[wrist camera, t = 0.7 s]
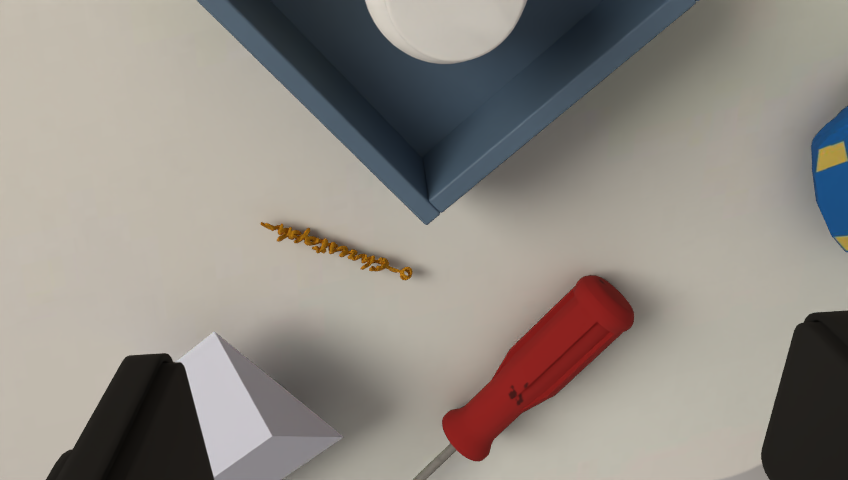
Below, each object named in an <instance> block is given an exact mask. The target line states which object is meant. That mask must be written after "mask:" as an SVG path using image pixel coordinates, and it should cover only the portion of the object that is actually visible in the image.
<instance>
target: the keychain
mask: <svg viewBox="0 0 848 480" xmlns="http://www.w3.org/2000/svg"><path fill="white" fill-rule="evenodd" d="M261 225H262V226H264V227H266V228H268V229H270V230H272V231H274V230H276V229H278V234H279V235H281V236H279V237H278V239H277V241H278V242H279V241H282V240H283V239H285V238H287V237H288V238H289V239H291V240H293V239H294V238H295V239H296V240H295V241H294V243H299V242H301V241H302V240H305V241H304V243H305V244H306V245H309V246H310V245H316V244H319V243H322V246H321V247H318V246H315V247H312V249H313V250H317V251H316V252H317V253H320V252H322V253H325V252H326V249H325V248H327V246H329V254H333V253H334V252H337V251H342V252H341V253H340V255H339V256H340V257H344V256H345V255H348V254H350V255H349V256H348V259H352V260H353V261H355V260H358V259H359V258H362V259H361V261H362V263H366V262H367V263H366V264H365V265H363V266H362V267H361V269H362V270H363V269H365V268H367V267H369V266H370V265H371V264H372V263H379V264H381V266H377V267H376V268H375V267H374V266H372V267H370V268H369V271H381V270H383V269H385V268H387V269H389V270H390V271H392V272H399V273H400V277H401V279H402V280H408V279H409V278H411V276H412V269H411V268H410V267H405V268H403V269H402V270H398V269H396V268H393V267H390V266H389V262H388V260H387V259H386V258H379V260H375V256H370V257H367V255H366V254H359V255H357V253H358V252H357V251H356V250H355V249H352V250H350V251H348V248H347V247H346V246H340V247H338V245H337V244H336V243H335V242H331V243H328V240H327V239H325V238H324V240H323V239H319V238H317V237H314V236H308V234H309V233H310V228H307V229H306V230H305V232H304V233H303V234H302V233H301V232H300V231H299V230H293V231H292V228H291V227H289V228H283V224H281V225H276V226H273V225H270V224H268V223H265V224H264V223H263V222H261ZM282 234H283V235H282ZM301 234H302V235H301ZM297 235H300V236H297ZM310 241H312V242H310ZM336 248H337V249H336ZM356 255H357V256H356ZM409 270H410V271H409ZM404 271H406V272H407V273H408V276H407V275H405V274H404ZM404 277H405V278H404Z"/></svg>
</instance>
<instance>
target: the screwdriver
mask: <svg viewBox="0 0 848 480" xmlns="http://www.w3.org/2000/svg"><path fill="white" fill-rule="evenodd" d="M633 322H634V312H633V309H632V307H631V305H630V304H629V302H628V301H627V300H626V299H625V298H624V296H623V295H622V294H621V293H620V292H619V291H618V290H617V289H616V288H615V287H613V286H612V285H611V284H610V283H609V282H607V281H606V280H604V279H603V278H601V277H598V276H593V275H589V276H585V277H583V278H581V279H580V280H579V281H578V282H577V284H576V286H575V287H574V288H573V289H572V290H571V291H570V292H569V293H567V294H566V295H565V296H564V297H563V298H562V299H561V300H560V301H559V302H558V303H557V304H556V305H555V306H554V307H553V308H552V309H551V310H550V311H549V312H548V313H547V314H546V315H545V316H544V317H543V318H542V319H541V320H540V321H539V322H538V323H537V324H536V325H534V326H533V327H532V328H531V329H530V330H529V331H528V332H527V333H526V334H525V335H524V336H523V337H522V338H521V339H520V340H519V341H518V342H517V343H516V344H515V345H514V346H513V347H512V348H511V349H510V350H509V352H508V353H507V355H506V357H505V358H504V360H503V362H502V363H501V365H500V367H499V368H498V370H497V372H496V373H495V375H494V377H493V379H492V380H491V381H490V382H489V383H488V384H487V385H486V386H485V387H484V388H483V389H482V390H481V391H480V392H479V393H478V394H477V395H476V396H475V397H474V398H473V399H472V400H471V401H470V402H469V403H467V404H466V405H465V406H464V407H462V408H460V409H454V410H450V411H449V412H448V413H447V414H446V415H445V416H444V417H443V420H442V425H443V430H444V432H445V435H446V436H447V438H448V440H449V441H450V444H449V445H448V446H447V447H446V448H445V449H444V450H443V451H442V452H441V453H440V454H439V455H438V456H437V457H436V458H435V459H434V460H433V461H432V462H431V463H430V464H428V465H427V466H426V467H425V468H424V469H423V470H422V471H421V472H420V473H419V474H418V475H417V476H416V477H415V478H414V479H413V480H426V479H427V478H428V477H429V476H430V475H431V474H432V473H433V472H434V471H435V470H436V469H437V468H438V467H440V466H441V465H442V464H443V463H444V462H445V461H446V460H447V459H448V458H449V457H450V456H451V455H452V454H453V453H454V452H455V451H456V450H457V451H458V452H459V453H461V454H462V455H463V456H465V457H466V458H468V459H470V460H473V461H482V460H483V459H484V458H485V457H487V456H488V455H489V452H490V448H491V444H492V442H493V440H494V439H495V438H496V437H497V436H498V435H499V434H500V433H501V432H502V431H503V430H504V429H505V428H507V427H508V426H509V425H510V424H511V423H512V422H513V421H514V420H515V419H516V418H517V417H518V416H519V415H520V414H522V413H523V412H525V411H527V410H528V409H530V408H532V407H534V406H536V405H538V404H540V403H542V402H543V401H545V400H547V399H549V398H551V397H553V396H555V395H556V394H557V393H558V392H559V391H560V390H561V389H562V388H564V387H565V386H566V385H567V384H568V383H569V382H570V381H571V380H572V379H573V378H574V377H575V376H577V375H578V374H579V373H580V372H581V371H582V370H583V369H584V368H585V367H586V366H587V365H588V364H589V363H591V362H592V361H593V360H594V359H595V358H596V357H597V356H598V355H599V354H600V353H601V352H602V351H604V350H605V349H606V348H607V347H608V346H609V345H610V344H611V343H612V342H613V341H614V340H615V339H616V338H618V337H619V336H620V335H621V334H622V333H623V332H625V331H627V330H628V329H630V328H631V326H632V325H633Z"/></svg>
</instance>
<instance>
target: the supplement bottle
mask: <svg viewBox="0 0 848 480" xmlns="http://www.w3.org/2000/svg"><path fill="white" fill-rule="evenodd" d="M365 2H366V5H367V8H368V11H369V13H370V15H371V17H372V19H373V21H374V23H375V24H376V26H377V27H378V29H379V30H380V31H381V33H382V34H383V35H384V36H385V37H386V38H387V39H388V40H389V41H390V42H391V43H392V44H393V45H394V46H396V47H397V48H398V49H400V50H401V51H403V52H404V53H406V54H408V55H410V56H412V57H414V58H416V59H419V60H422V61H426V62H430V63H437V64H454V63H460V62H465V61H468V60H472V59H475V58H478V57H480V56H482V55H484V54H486V53H488V52H490V51H491V50H493V49H494V48H496V47H497V46H498V45H500V44H501V43H502V42H503V41H504V40H505V39H506V38H507V37H508V35H509V34H510V33H511V32H512V30H513V29H514V27H515V25H516V24H517V22H518V20H519V18H520V16H521V14H522V12H523V10H524V8H525V5H526V2H527V0H365Z"/></svg>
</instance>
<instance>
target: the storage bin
mask: <svg viewBox="0 0 848 480" xmlns="http://www.w3.org/2000/svg"><path fill="white" fill-rule="evenodd" d="M197 1H198V2H199V3H200V4H201V5H202V6H203V7H204V8H205V9H206V10H207V11H208V12H209V13H210V14H211V15H212V16H213V17H214V18H215V19H216V20H217V21H218V22H219V23H220V24H221V25H222V26H223V27H224V28H225V29H226V30H228V31H229V32H230V33H231V34H232V35H233V36H234V37H235V38H236V39H237V40H238V41H239V42H240V43H241V44H242V45H243V46H244V47H245V48H246V49H247V50H248V51H249V52H250V53H251V54H252V55H253V56H254V57H255V58H256V59H257V60H258V61H259V62H260V63H261V64H262V65H263V66H264V67H265V68H266V69H267V70H268V71H269V72H270V73H271V74H272V75H273V76H274V77H275V78H276V79H277V80H278V81H279V82H280V83H281V84H283V85H284V86H285V87H286V88H287V89H288V90H289V91H290V92H291V93H292V94H293V95H294V96H295V97H296V98H297V99H298V100H299V101H300V102H301V103H302V104H303V105H304V106H305V107H306V108H307V109H308V110H309V111H310V112H311V113H312V114H313V115H314V116H315V117H316V118H317V119H318V120H319V121H320V122H321V123H322V124H323V125H324V126H325V127H326V128H327V129H328V130H329V131H330V132H331V133H332V134H333V135H334V136H335V137H336V138H338V139H339V140H340V141H341V142H342V143H343V144H344V145H345V146H346V147H347V148H348V149H349V150H350V151H351V152H352V153H353V154H354V155H355V156H356V157H357V158H358V159H359V160H360V161H361V162H362V163H363V164H364V165H365V166H366V167H367V168H368V169H369V170H370V171H371V172H372V173H373V174H374V175H375V176H376V177H377V178H378V179H379V180H380V181H381V182H382V183H383V184H384V185H385V186H386V187H387V188H388V189H389V190H390V191H391V192H393V193H394V194H395V195H396V196H397V197H398V198H399V199H400V200H401V201H402V202H403V203H404V204H405V205H406V206H407V207H408V208H409V209H410V210H411V211H412V212H413V213H414V214H415V215H416V216H417V217H418V218H419V219H420V220H421V221H422V222H423V223H424V224H426V225H428V224H429V223H430V222H431V221H432V220H434V219H435V218H436V217H437V216H439V214H440V212H441V213H442V212H443V211H445V210H446V209H447V208H448V207H449V206H451V205H452V204H453V203H454V202H456V201H457V200H458V199H459V198H460V197H462V196H463V195H464V194H465V193H466V192H468V191H469V190H470V189H471V188H473V187H474V186H475V185H476V184H477V183H479V182H480V181H481V180H482V179H483V178H485V177H486V176H487V175H488V174H489V173H491V172H492V171H493V170H494V169H496V168H497V167H498V166H499V165H500V164H502V163H503V162H504V161H505V160H506V159H508V158H509V157H510V156H511V155H513V154H514V153H515V152H516V151H517V150H519V149H520V148H521V147H522V146H523V145H525V144H526V143H527V142H528V141H530V140H531V139H532V138H533V137H534V136H536V135H537V134H538V133H539V132H540V131H542V130H543V129H544V128H545V127H546V126H548V125H549V124H550V123H551V122H553V121H554V120H555V119H556V118H557V117H559V116H560V115H561V114H562V113H563V112H565V111H566V110H567V109H568V108H570V107H571V106H572V105H573V104H574V103H576V102H577V101H578V100H579V99H580V98H582V97H583V96H584V95H585V94H587V93H588V92H589V91H590V90H591V89H593V88H594V87H595V86H596V85H597V84H599V83H600V82H601V81H602V80H603V79H605V78H606V77H607V76H608V75H610V74H611V73H612V72H613V71H614V70H616V69H617V68H618V67H619V66H620V65H622V64H623V63H624V62H625V61H627V60H628V59H629V58H630V57H631V56H633V55H634V54H635V53H636V52H637V51H639V50H640V49H641V48H642V47H644V46H645V45H646V44H647V43H648V42H650V41H651V40H652V39H653V38H654V37H656V36H657V35H658V34H659V33H660V32H662V31H663V30H664V29H665V28H667V27H668V26H669V25H670V24H671V23H673V22H674V21H675V20H676V19H677V18H679V17H680V16H681V15H682V14H684V13H685V12H686V11H687V10H688V9H690V8H691V7H692V6H693V5H694V4H695V3H696V1H699V0H527V2H526V5H525V8H524V10H523V12H522V14H521V16H520V18H519V20H518V22H517V24H516V25H515V27H514V29H513V30H512V32H511V33H510V34H509V35H508V37H507V38H506V39H505V40H504V41H503V42H502V43H501V44H500V45H498V46H497V47H496V48H494V49H493V50H491V51H490V52H488V53H486V54H484V55H482V56H480V57H478V58H475V59H472V60H468V61H465V62H460V63H454V64H437V63H430V62H426V61H422V60H419V59H416V58H414V57H412V56H410V55H408V54H406V53H404V52H403V51H401V50H400V49H398V48H397V47H396V46H394V45H393V44H392V43H391V42H390V41H389V40H388V39H387V38H386V37H385V36H384V35H383V34H382V33H381V31H380V30H379V29H378V27H377V26H376V24H375V23H374V21H373V19H372V17H371V15H370V13H369V11H368V8H367V5H366V2H365V0H197Z"/></svg>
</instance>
